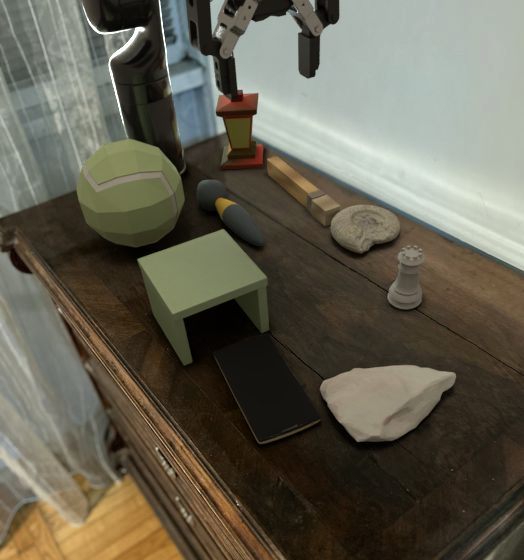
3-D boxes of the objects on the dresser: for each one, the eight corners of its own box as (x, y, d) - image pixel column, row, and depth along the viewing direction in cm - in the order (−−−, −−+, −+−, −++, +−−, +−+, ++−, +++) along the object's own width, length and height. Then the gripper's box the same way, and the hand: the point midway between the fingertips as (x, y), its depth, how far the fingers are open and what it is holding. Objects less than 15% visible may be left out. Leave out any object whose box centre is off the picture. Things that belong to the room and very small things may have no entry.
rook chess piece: (400, 285, 76) (407, 236, 70) (428, 299, 73) (438, 249, 67) (380, 301, 74) (386, 252, 68) (408, 316, 71) (416, 266, 65)
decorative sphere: (199, 251, 84) (183, 158, 73) (101, 275, 81) (70, 183, 71) (177, 203, 94) (160, 115, 83) (89, 223, 91) (60, 136, 81)
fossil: (375, 242, 76) (314, 228, 81) (376, 264, 79) (316, 250, 84) (411, 203, 82) (352, 192, 87) (410, 225, 84) (353, 213, 90)
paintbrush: (282, 241, 84) (281, 212, 81) (257, 254, 83) (254, 225, 79) (210, 192, 96) (206, 166, 92) (186, 203, 94) (181, 176, 90)
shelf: (151, 312, 75) (136, 258, 68) (230, 282, 78) (223, 228, 72) (185, 368, 67) (172, 314, 61) (271, 332, 71) (267, 277, 64)
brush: (265, 175, 99) (264, 159, 97) (279, 170, 100) (278, 155, 98) (324, 226, 86) (325, 210, 84) (339, 221, 87) (340, 204, 85)
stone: (312, 360, 61) (434, 330, 64) (311, 385, 64) (428, 355, 67) (349, 435, 54) (485, 398, 56) (346, 459, 57) (476, 422, 59)
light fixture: (263, 148, 106) (251, -39, 85) (262, 167, 101) (249, -27, 79) (224, 150, 107) (202, -35, 85) (221, 169, 101) (196, -23, 80)
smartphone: (267, 331, 69) (322, 418, 59) (268, 337, 70) (322, 424, 60) (212, 350, 67) (259, 442, 58) (213, 356, 68) (260, 449, 58)
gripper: (312, -147, 47) (311, 59, 58) (154, -125, 43) (187, 91, 54) (364, -141, 42) (351, 81, 54) (191, -116, 38) (219, 118, 50)
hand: (269, 86), depth 54 cm, fingers open, 8 cm apart
